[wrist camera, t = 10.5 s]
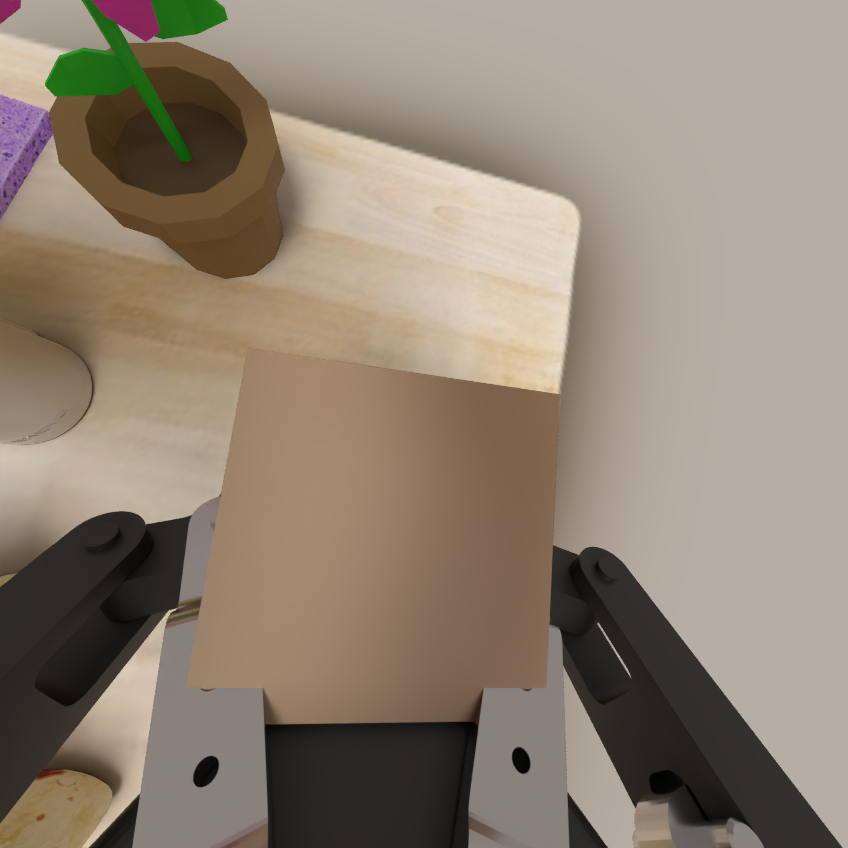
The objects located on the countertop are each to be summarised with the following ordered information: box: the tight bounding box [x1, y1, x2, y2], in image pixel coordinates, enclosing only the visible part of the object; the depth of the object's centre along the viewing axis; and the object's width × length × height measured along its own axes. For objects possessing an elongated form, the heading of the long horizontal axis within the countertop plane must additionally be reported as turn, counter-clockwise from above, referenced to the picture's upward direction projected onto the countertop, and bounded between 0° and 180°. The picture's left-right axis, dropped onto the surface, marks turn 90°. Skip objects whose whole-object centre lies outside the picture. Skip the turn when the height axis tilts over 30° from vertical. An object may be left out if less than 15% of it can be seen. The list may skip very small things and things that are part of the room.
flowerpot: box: [0, 0, 285, 279], centre depth 19 cm, size 14×14×30 cm
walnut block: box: [185, 348, 560, 724], centre depth 10 cm, size 5×5×11 cm
